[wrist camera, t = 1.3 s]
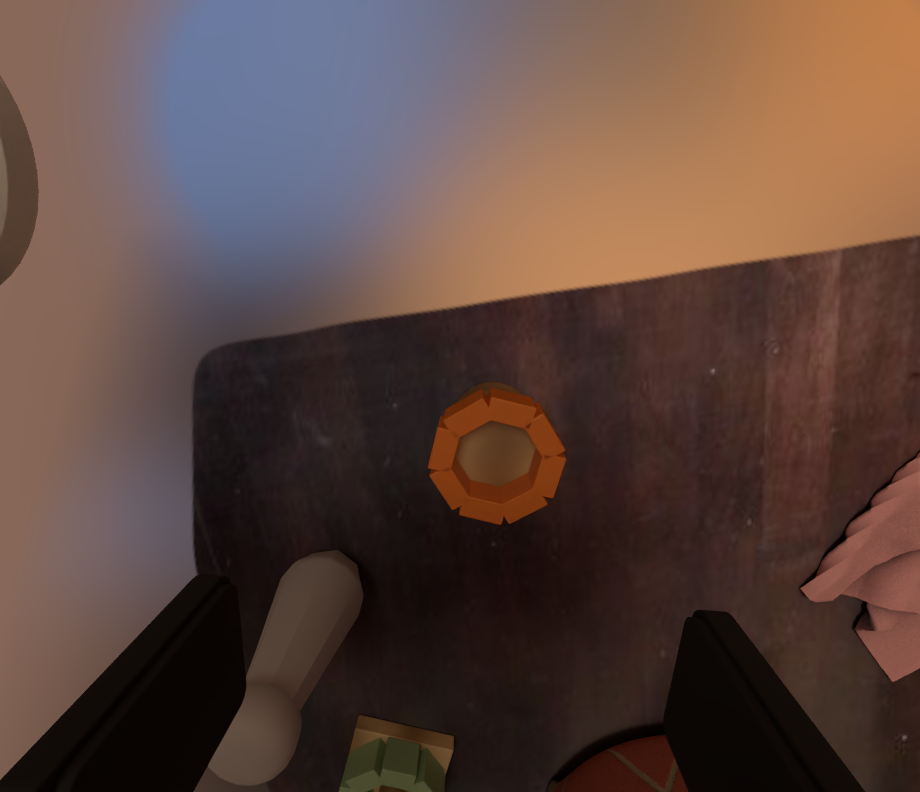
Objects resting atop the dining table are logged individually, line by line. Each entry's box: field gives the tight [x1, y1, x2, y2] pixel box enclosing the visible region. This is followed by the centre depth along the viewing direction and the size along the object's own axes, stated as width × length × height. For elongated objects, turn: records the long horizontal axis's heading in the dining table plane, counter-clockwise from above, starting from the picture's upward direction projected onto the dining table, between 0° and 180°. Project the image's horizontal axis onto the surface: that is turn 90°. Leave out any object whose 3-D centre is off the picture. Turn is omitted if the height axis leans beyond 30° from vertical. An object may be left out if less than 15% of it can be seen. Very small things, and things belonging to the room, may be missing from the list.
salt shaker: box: [208, 550, 364, 786], centre depth 26 cm, size 6×6×13 cm
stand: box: [455, 382, 536, 487], centre depth 26 cm, size 5×5×5 cm
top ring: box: [428, 388, 566, 525], centre depth 23 cm, size 7×7×2 cm
